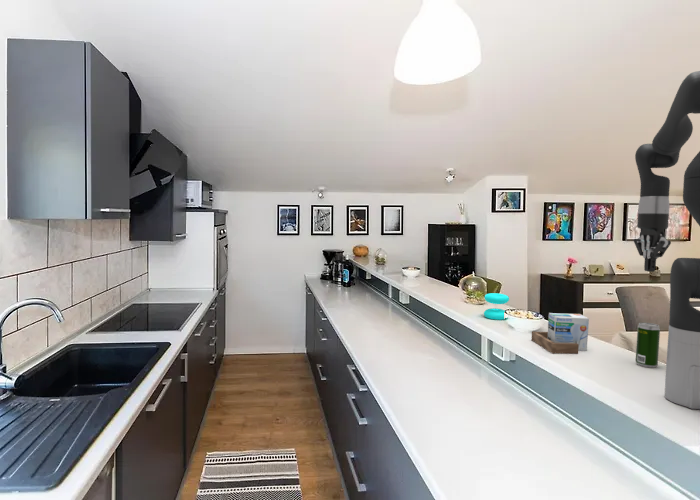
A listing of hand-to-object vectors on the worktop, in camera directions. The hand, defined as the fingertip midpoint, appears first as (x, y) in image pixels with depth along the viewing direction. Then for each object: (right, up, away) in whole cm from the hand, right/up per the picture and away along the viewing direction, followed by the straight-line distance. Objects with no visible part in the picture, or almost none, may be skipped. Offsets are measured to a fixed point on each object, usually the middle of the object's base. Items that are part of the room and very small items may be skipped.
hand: (649, 271), depth 131 cm
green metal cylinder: (-2, -27, -2) cm, 28 cm away
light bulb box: (-17, -26, +15) cm, 35 cm away
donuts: (-26, -23, +58) cm, 68 cm away
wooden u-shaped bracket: (-21, -26, +15) cm, 37 cm away
